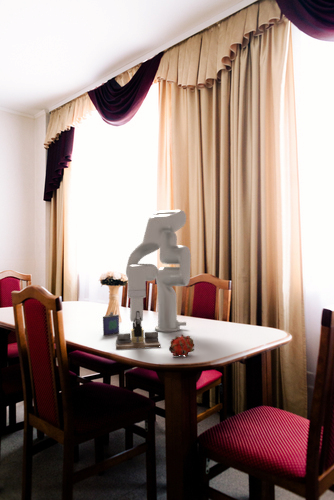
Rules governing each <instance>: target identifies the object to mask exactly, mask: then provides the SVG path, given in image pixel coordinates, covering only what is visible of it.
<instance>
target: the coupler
mask: <svg viewBox="0 0 334 500" xmlns="http://www.w3.org/2000/svg"><path fill="white" fill-rule="evenodd" d="M130 331H131V332H130V335H131V340H132V343H133V342H144V338H145V331H144V328H143V327H142V337H134V329H133V328H131V329H130Z"/></svg>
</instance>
